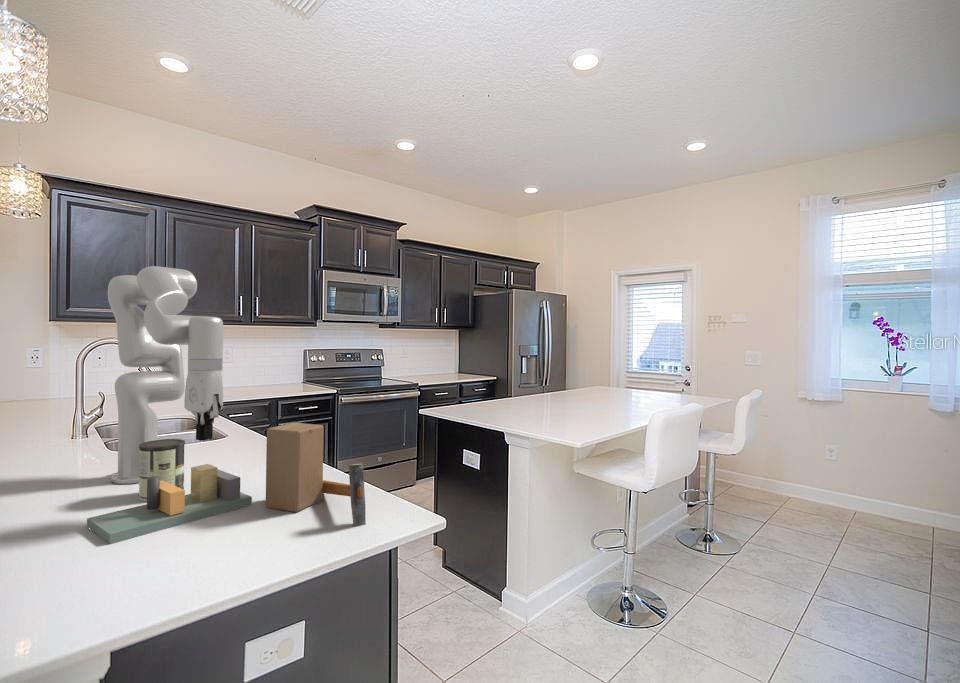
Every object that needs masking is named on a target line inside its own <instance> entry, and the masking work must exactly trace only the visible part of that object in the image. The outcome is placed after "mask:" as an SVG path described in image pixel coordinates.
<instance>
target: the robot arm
mask: <svg viewBox="0 0 960 683" xmlns="http://www.w3.org/2000/svg"><path fill="white" fill-rule="evenodd" d="M197 290H198V281H197V279H196V277H195V275H194V274H193V272H191V271H189V270H187V269H182V268H176V267H175V268H174V267H167V266H159V265H157V266H156V265H154V266H152V265H151V266H147V267H144V268H142V269H141V270H139V272H138V273H137V274H136V275H131V274H130V275H129V274H127V275H126V274H125V275H122V274H121V275H117V276H114V277H113V278H111V279H110V281H109V283H108V287H107V300H108V303H109V306H110V310H111V312H112V314H113V316H114V320H115V322H116V333H117V334H116V335H117V347H118V348H117V349H118V356H119V361H120V363H121V365H123V366H124V367H128V368H161V370H155V371H153V370H147V371H145V370H144V371H142V370H141V371H130V372H126V373H123V374H121V375H119V376H118V377H117V378H116V380H115V382H114V392H115V397H116V398H115V400H116V404H117V419H118V420H117V421H118V422H117V425H118V428H117V431H118V432H117V442H118V443H117V473H115V474H113V475H111V477H110V482H111V483H113V484H119V485H121V484H122V485H123V484H124V485H126V484H127V485H128V484H129V485H130V484H136V483H137V484H139V445H140V444H141V443H144V442H148V441H154V440H158V416H157V414H156V412H155V411H154V410H153V409H152V408H151V407H150V406H149V404H153V403H164V402H172V401H177V400H179V399H181V398H182V397H183V396H184V407H183V408H184V409H185V410H186V411H188V412H191V414H192V415H194V423H195V440H196V441H200V442H201V441H202V442H203V441H208V440H212V439H213V437H214V436H213V433H214V432H213V428H214V427H213V424H214V422H215V419H217V418H219V415H220V414H219V412H220V411H221V410H222V409H223V407H224V389H223V388H224V386H223V384H224V383H223V375H222V372H223V368H224V367H223V354H224V353H223V351H224V322H223V319H222V318H220V317H218V316H217V317H216V316H205V315H200V316H199V315H185V314H184V315H183V314H182V315H181V314H180V313H181V312H183V311H184V310H185V309H186V307H187V306H188V302H189V300H190V299H192V298H193V297H194V296H195V294H196V293H197ZM138 305H142V306H143V305H144V306H145V308H144V310H143V309H142V308H141V307H139V306H138ZM181 345H183V346H186V345H187V374H186V375H187V376H186V381H185V372H184V361H183V360H184V359H183V350H182V346H181Z"/></svg>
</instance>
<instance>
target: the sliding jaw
mask: <svg viewBox="0 0 960 683" xmlns="http://www.w3.org/2000/svg"><path fill="white" fill-rule="evenodd" d="M185 495H186V490H185V489H184V490H183V489H181V488H179V487H177V486H174V485H172V484H170V483H167V482H165V481H163V480H162V481H160V477H159V476H153V477H149V478H147V501H146V504H147V510H154V509H159V510H161V511H162V512H164V513H166V514H168V515H174V514H178V513H182V512H185Z"/></svg>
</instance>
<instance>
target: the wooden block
mask: <svg viewBox="0 0 960 683" xmlns="http://www.w3.org/2000/svg"><path fill="white" fill-rule="evenodd" d="M324 428H325V427H324V425H321V424H313V423H303V422H291V423H285V424H281V425H277V426H273V427H269V428H267V429H266V451H265V453H266V455H265V457H266V458H265V459H266V462H265V467H266V468H265V508H269V509H276V510H281V511H288V512H293V513H299V512H301V511H303V510H305V509H307V508H309V507H311V506H313V505H315V504H317V503H319V502H321V501H322V500H323V493H322V491H323V480H324V436H325V435H324Z"/></svg>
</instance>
